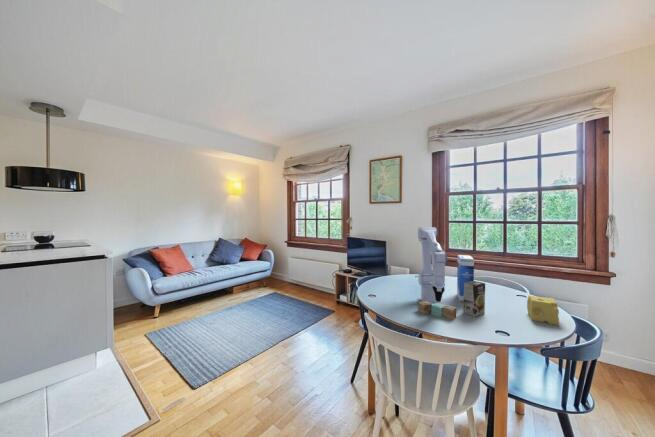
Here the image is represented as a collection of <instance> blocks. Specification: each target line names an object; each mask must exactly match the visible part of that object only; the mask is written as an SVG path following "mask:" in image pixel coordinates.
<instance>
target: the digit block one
mask: <svg viewBox="0 0 655 437" xmlns="http://www.w3.org/2000/svg"><path fill="white" fill-rule="evenodd" d="M431 305H433V304H432V303H429V302H427V301H421V300H420V301H417V312H419V313H420V314H422V315H431Z"/></svg>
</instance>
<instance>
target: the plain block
mask: <svg viewBox="0 0 655 437" xmlns="http://www.w3.org/2000/svg"><path fill="white" fill-rule="evenodd" d="M445 305H446V304H441V303H439V302H433V304H432V305H431V314H430V315H431V316H434V317H437V318H443V317H442V311H443V307H444V306H445Z"/></svg>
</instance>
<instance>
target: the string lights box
mask: <svg viewBox="0 0 655 437" xmlns="http://www.w3.org/2000/svg"><path fill="white" fill-rule="evenodd" d="M456 264H457V275H456V277H457V282H456V283H457V285H456V286H457V287H456V288H457V290H456V292H457V293H456V296H457V297H458V301H459V302H463V300H464V283H465V282H470V281H475V280H474V279H475V274H474V272H475V259H474V258H473V256H471V255H468V254H467V255H465V254H463V255H462V254H457V263H456Z"/></svg>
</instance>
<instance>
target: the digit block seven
mask: <svg viewBox="0 0 655 437" xmlns="http://www.w3.org/2000/svg"><path fill="white" fill-rule="evenodd" d="M444 305H445V306H444V307H443V311H442V317H441V318H444V319H448V320H450V321H451V320H452V321H454V320H455V319H456V318H457V307H456V306H453V305H452V306H451V305H448V304H444Z"/></svg>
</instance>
